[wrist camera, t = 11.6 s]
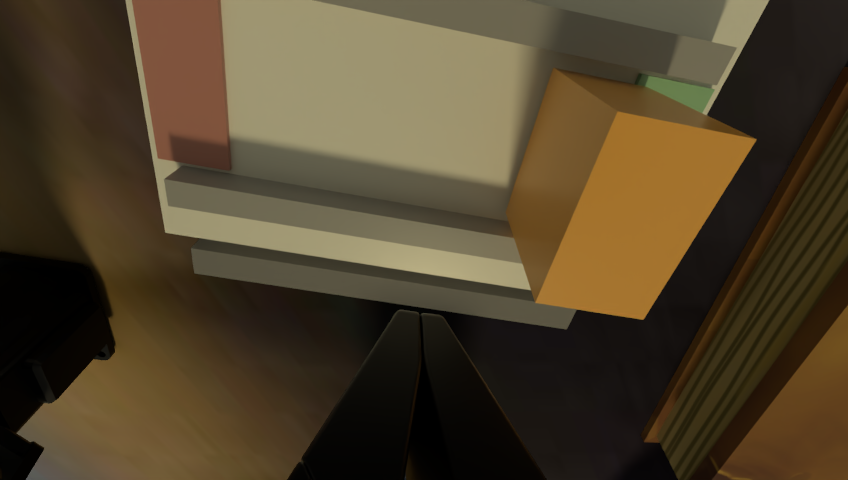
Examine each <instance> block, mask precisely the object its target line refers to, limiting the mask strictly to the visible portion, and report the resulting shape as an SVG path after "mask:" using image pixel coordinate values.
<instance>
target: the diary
mask: <svg viewBox="0 0 848 480" xmlns="http://www.w3.org/2000/svg"><path fill="white" fill-rule="evenodd" d="M641 437H642V439H643V441H644V442H657V443H660V444H661V446H662V448H663V450H664V452H665V454H666V456H667V458H668V460H669V462H670V464H671V466H672V468H673V470H674V472H675V474H676V476H677V478H678V480H848V67H844V68H843V70H842V72H841V74H840V75H839V77H838V79H837V81H836V83H835V84H834V86H833V88H832V90H831V92H830V93H829V95H828V97H827V99H826V101H825V102H824V104H823V106H822V108H821V110H820V112H819V113H818V115H817V117H816V119H815V121H814V122H813V124H812V126H811V128H810V130H809V131H808V133H807V135H806V137H805V139H804V140H803V142H802V144H801V146H800V148H799V149H798V151H797V153H796V155H795V157H794V159H793V160H792V162H791V164H790V166H789V168H788V169H787V171H786V173H785V175H784V177H783V178H782V180H781V182H780V184H779V186H778V187H777V189H776V191H775V193H774V195H773V197H772V198H771V200H770V202H769V204H768V206H767V207H766V209H765V211H764V213H763V215H762V216H761V218H760V220H759V222H758V224H757V225H756V227H755V229H754V231H753V233H752V235H751V236H750V238H749V240H748V242H747V244H746V245H745V247H744V249H743V251H742V253H741V254H740V256H739V258H738V260H737V262H736V263H735V265H734V267H733V269H732V271H731V272H730V274H729V276H728V278H727V280H726V282H725V283H724V285H723V287H722V289H721V291H720V292H719V294H718V296H717V298H716V300H715V301H714V303H713V305H712V307H711V309H710V310H709V312H708V314H707V316H706V318H705V320H704V321H703V323H702V325H701V327H700V329H699V330H698V332H697V334H696V336H695V338H694V339H693V341H692V343H691V345H690V347H689V348H688V350H687V352H686V354H685V356H684V358H683V359H682V361H681V363H680V365H679V367H678V368H677V370H676V372H675V374H674V376H673V377H672V379H671V381H670V383H669V385H668V386H667V388H666V390H665V392H664V394H663V396H662V397H661V399H660V401H659V403H658V405H657V406H656V408H655V410H654V412H653V414H652V415H651V417H650V419H649V421H648V423H647V424H646V426H645V428H644V430H643V432H642V433H641Z"/></svg>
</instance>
